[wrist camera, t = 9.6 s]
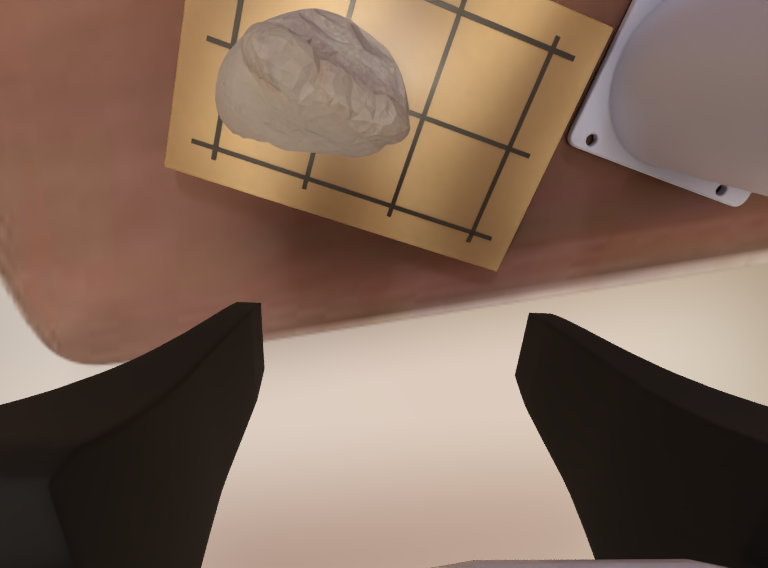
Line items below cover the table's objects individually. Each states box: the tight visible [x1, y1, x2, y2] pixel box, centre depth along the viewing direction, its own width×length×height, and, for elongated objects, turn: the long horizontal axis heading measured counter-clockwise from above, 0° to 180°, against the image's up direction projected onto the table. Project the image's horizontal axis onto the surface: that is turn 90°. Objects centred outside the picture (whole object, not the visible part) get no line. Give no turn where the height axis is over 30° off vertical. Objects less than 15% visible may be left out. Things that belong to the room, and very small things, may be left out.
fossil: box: [215, 8, 410, 158], centre depth 13 cm, size 6×4×10 cm, turn 87°
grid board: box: [164, 0, 613, 271], centre depth 18 cm, size 16×11×1 cm
